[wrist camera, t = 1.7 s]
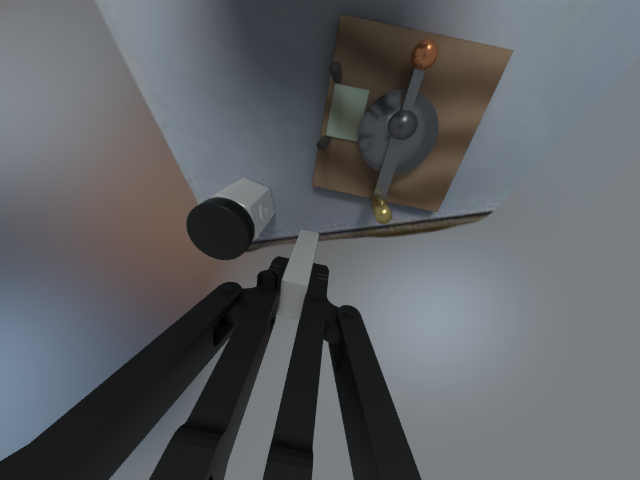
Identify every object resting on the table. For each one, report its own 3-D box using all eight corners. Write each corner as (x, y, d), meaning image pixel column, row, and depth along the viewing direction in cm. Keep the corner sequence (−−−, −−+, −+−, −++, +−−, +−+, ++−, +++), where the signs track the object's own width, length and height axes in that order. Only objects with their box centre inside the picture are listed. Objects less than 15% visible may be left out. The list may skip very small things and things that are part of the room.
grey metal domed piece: (381, 34, 26) (394, 4, 19) (467, 52, 26) (512, 28, 19) (342, 196, 35) (341, 215, 28) (405, 209, 35) (420, 232, 28)
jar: (279, 224, 41) (256, 261, 30) (236, 227, 42) (200, 264, 31) (268, 174, 37) (237, 197, 26) (221, 179, 38) (173, 202, 27)
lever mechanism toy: (340, 18, 27) (339, -13, 20) (505, 53, 27) (557, 33, 20) (312, 183, 37) (306, 198, 30) (434, 208, 37) (453, 228, 30)
